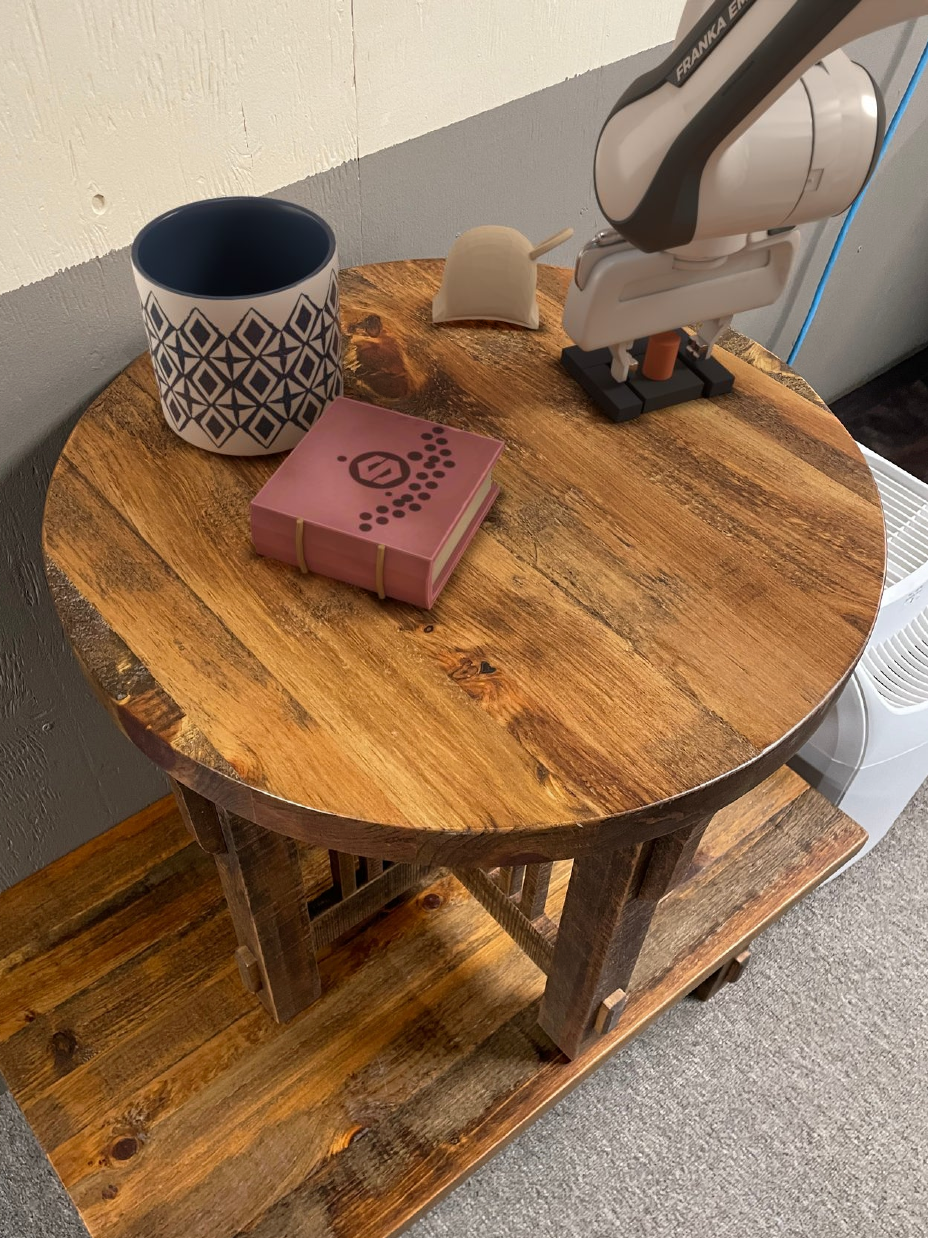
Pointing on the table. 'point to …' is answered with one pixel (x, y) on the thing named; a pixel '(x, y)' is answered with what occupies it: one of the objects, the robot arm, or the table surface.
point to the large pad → (617, 396)
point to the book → (377, 500)
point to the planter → (241, 321)
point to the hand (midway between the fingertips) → (659, 367)
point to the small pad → (665, 389)
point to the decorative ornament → (493, 276)
